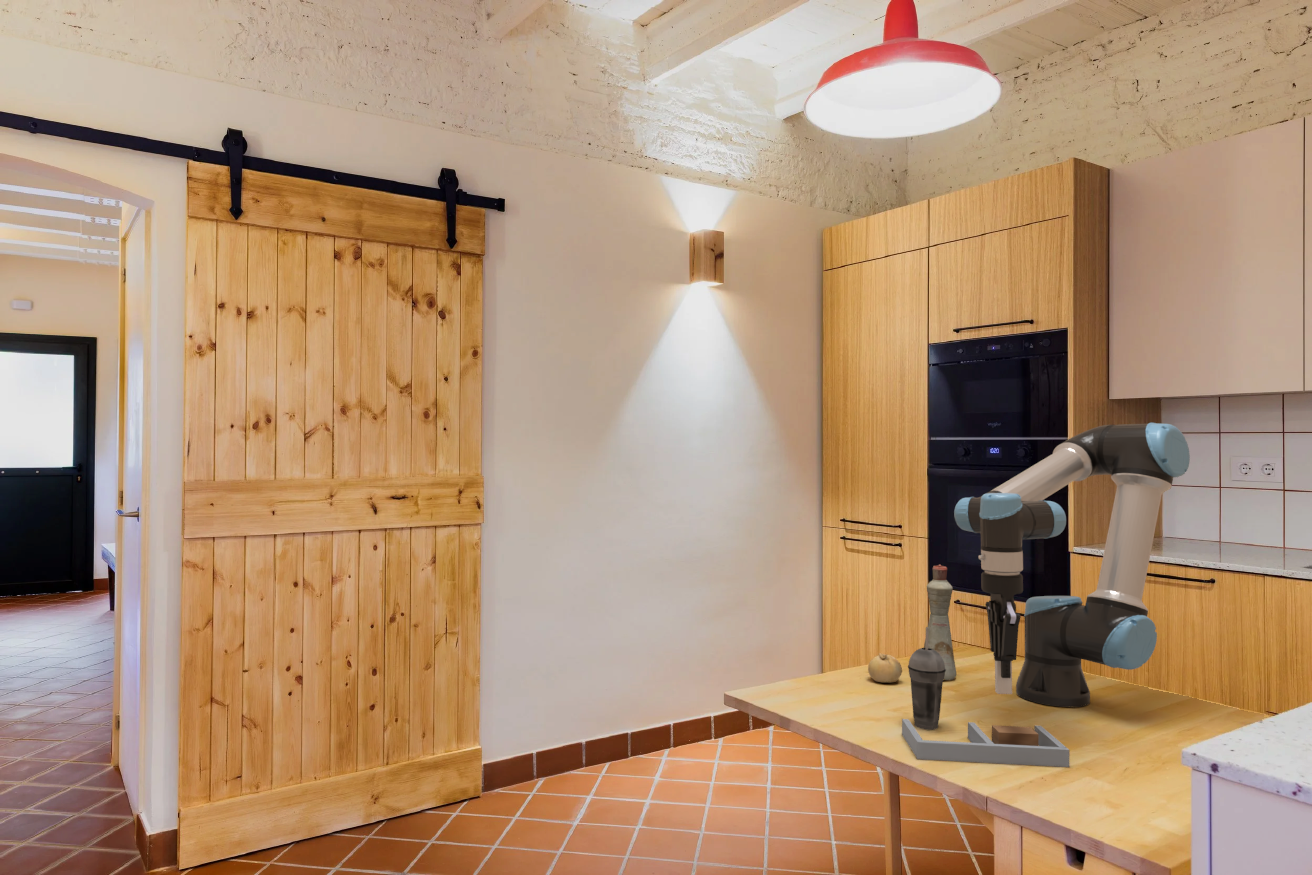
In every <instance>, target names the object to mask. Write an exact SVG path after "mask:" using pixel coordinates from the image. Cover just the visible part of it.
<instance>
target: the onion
mask: <svg viewBox="0 0 1312 875" xmlns="http://www.w3.org/2000/svg"><path fill="white" fill-rule="evenodd" d="M867 668H868V669H867V671H868V674H869V676H870V678H871V679H872V680H873V681H875V682H877V683H895V682H897V681H899V679H900V677H901V676H902V673H903V667H902V665H901V663H900V662H899V660H898V659H897V658H896V657H894V656H893V655H891V654H885V653H878V655H876V656H874V657H872V658H871V660H870V661H869V662H868V666H867Z"/></svg>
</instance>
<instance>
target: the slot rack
mask: <svg viewBox="0 0 1312 875" xmlns="http://www.w3.org/2000/svg"><path fill="white" fill-rule="evenodd" d="M1033 730H1034V731H1035V732H1037V733H1038V734H1039V743H1038V746H1027V745H1008V744H994V743H993V742H992V739H990V737H988V735H987V734H986V733H985V732H983V730H982V729H981V728H980V727H979V725H977V724H976V722H975V721H974V722H973V721H972V722H969V721H968V722H967V739H968V740H969V741H970V742H969V741H967V742H966V741H948V740H947V741H946V740H945V741H944V740H925V739H924V740H923V738H922V736H921V735H920V734H919V732H918V730H916V728H915V726H914V725H913V723H912V722H911V720H909V718H901V736H902V737H903V738H904V740H905V742H906V743H907V745H908V747H909V748H910V749H911V751H912V753H913V754H914V756H915V758H916V759H917V760H926V761H927V760H928V761H945V762H947V761H948V762H965V763H981V764H982V763H985V764H1004V765H1018V766H1019V765H1023V766H1037V767H1038V766H1040V767H1057V768H1060V767H1061V768H1070V749H1069V748H1068V747H1067V746H1065V745H1064V744H1063V743H1062V742H1060V740H1059V739H1057V737H1055V736H1054V735H1053V734H1051V733H1050V732H1049V731H1048V730H1046V729H1045V728H1044V727H1043V726H1042V725H1034V728H1033Z"/></svg>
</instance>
